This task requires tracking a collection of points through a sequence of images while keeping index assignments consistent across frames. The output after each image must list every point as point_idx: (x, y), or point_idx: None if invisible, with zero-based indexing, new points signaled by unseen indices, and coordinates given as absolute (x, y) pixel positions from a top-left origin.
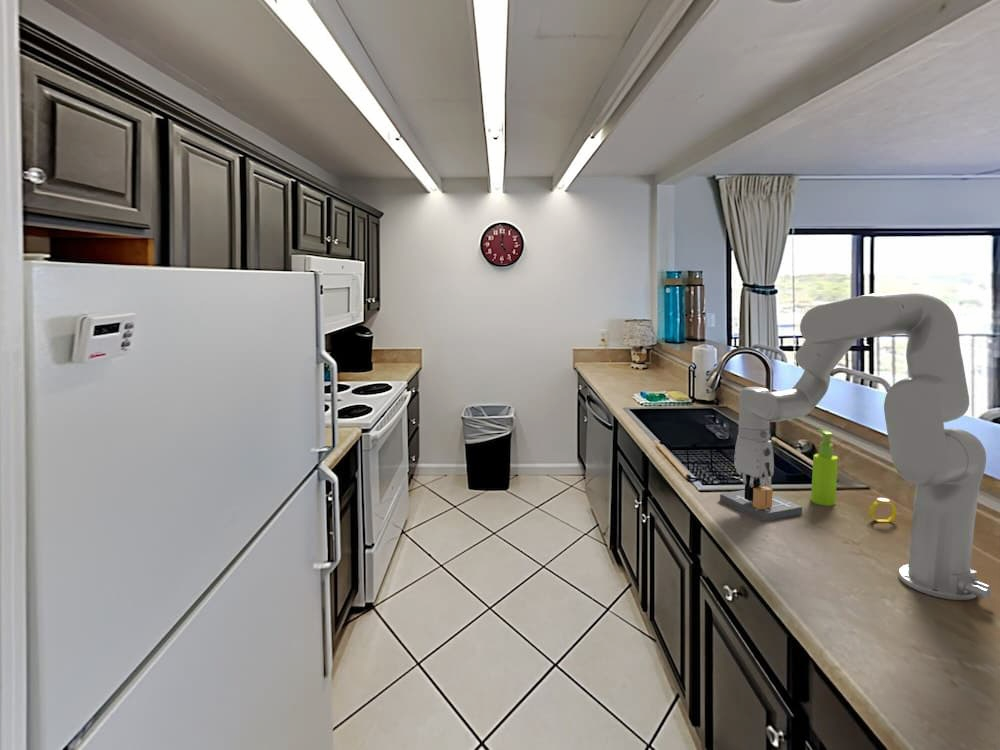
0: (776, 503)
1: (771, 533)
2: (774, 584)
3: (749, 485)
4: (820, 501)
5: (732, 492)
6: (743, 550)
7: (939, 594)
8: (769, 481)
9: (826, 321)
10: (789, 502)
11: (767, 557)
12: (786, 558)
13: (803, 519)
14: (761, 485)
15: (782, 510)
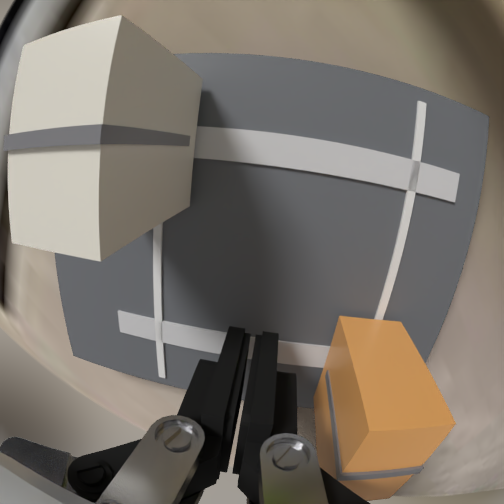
0: (368, 207)
1: (452, 416)
2: (487, 487)
3: (220, 460)
4: None
5: (65, 287)
6: (421, 493)
7: None
8: (147, 65)
9: None
10: (402, 98)
11: (468, 473)
12: (499, 449)
13: (498, 189)
14: (150, 199)
15: (455, 289)
